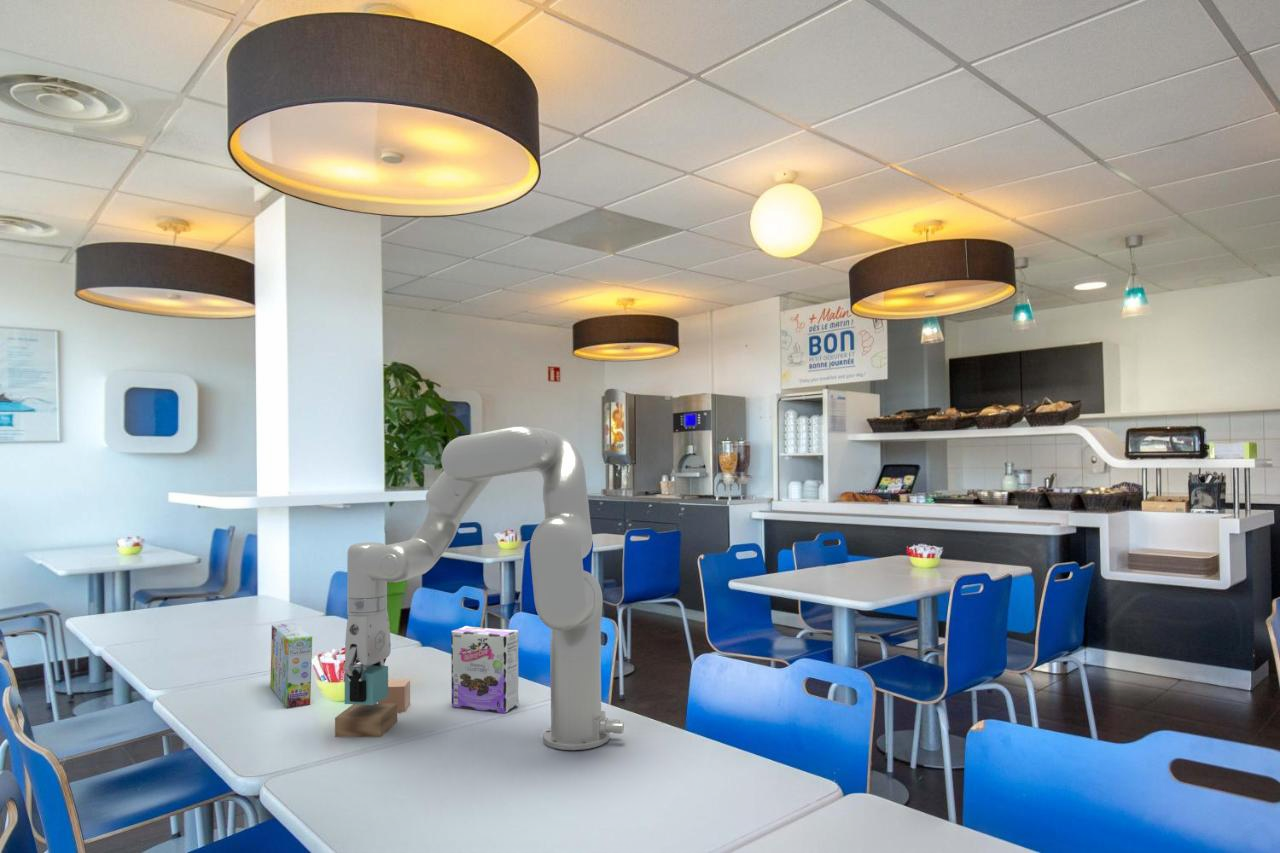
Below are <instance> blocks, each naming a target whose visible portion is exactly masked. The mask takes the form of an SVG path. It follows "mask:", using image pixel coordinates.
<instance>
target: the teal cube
mask: <svg viewBox="0 0 1280 853" xmlns="http://www.w3.org/2000/svg"><path fill="white" fill-rule="evenodd" d="M360 669H361V668H356V670H357V671H358V672H359V674H360ZM388 680H389V666H388V665H385V666H368V667H367V666H366V672H365V677H364V681H366V701H364V702H351V701H350V681H348V676H347V673H346V672H344V705H353V704H357V705H374V704H376V703H378V702H379V701H381V700H383V699H384V698H386V697H388Z"/></svg>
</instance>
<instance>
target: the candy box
mask: <svg viewBox="0 0 1280 853" xmlns="http://www.w3.org/2000/svg"><path fill="white" fill-rule="evenodd" d="M450 642H451V654H450V655H451V657H450V658H451V661H450V662H451V670H450V671H451V674H450V675H451V707H453V708H457V709H458V708H460V709H467V710H477V711H483V712H494V713H499V714H506V712H507V713H508V711H509V712H510V710H511V711H512V710H515V709H516V708H518V707H519V706H518V705H519V630H518V629H503V628H502V629H501V628H500V629H499V628H488V627H487V628H486V627H477V626H469V625H465V626H463V627H459V628H457V629H453V630H451V641H450ZM517 706H518V707H517ZM515 707H516V708H515Z"/></svg>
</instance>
